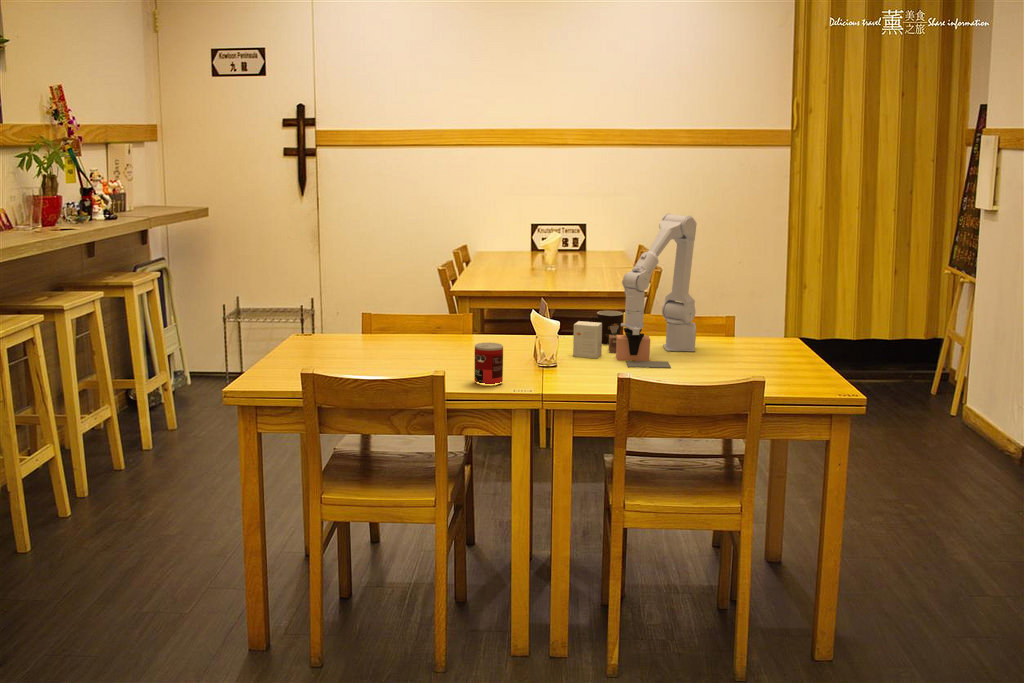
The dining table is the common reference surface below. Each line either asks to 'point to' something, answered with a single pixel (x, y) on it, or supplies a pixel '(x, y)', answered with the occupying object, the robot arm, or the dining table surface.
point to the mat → (649, 364)
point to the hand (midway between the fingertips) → (632, 352)
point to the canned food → (488, 363)
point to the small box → (587, 339)
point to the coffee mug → (609, 323)
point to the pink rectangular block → (624, 352)
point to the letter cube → (612, 343)
